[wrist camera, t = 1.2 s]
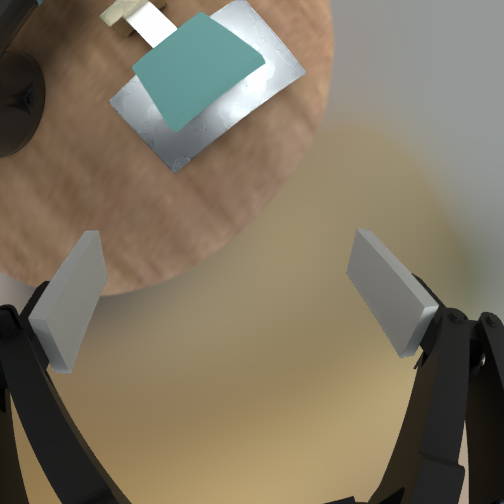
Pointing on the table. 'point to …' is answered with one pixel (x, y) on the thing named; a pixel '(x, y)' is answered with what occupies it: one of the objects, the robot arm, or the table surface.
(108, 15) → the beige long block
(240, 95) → the grey block
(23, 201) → the table surface
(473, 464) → the robot arm
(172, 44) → the teal rectangular plate
